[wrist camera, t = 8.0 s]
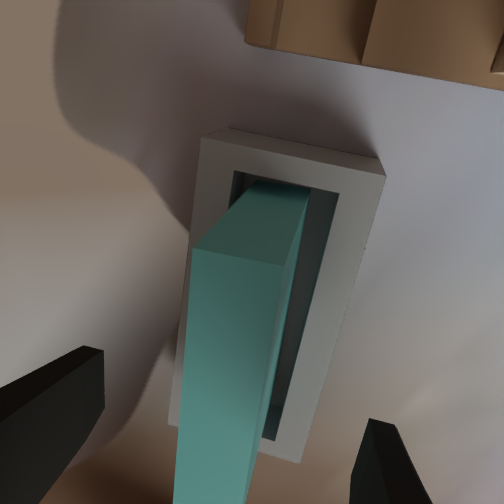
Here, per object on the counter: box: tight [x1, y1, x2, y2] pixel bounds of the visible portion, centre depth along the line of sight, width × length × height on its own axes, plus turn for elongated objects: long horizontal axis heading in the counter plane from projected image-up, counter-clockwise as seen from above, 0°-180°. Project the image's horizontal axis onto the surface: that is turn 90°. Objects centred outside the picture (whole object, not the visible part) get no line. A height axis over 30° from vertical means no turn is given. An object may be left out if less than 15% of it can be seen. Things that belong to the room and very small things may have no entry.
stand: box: [168, 128, 387, 464], centre depth 17 cm, size 6×12×3 cm, turn 170°
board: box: [173, 180, 311, 504], centre depth 14 cm, size 2×9×7 cm, turn 173°
